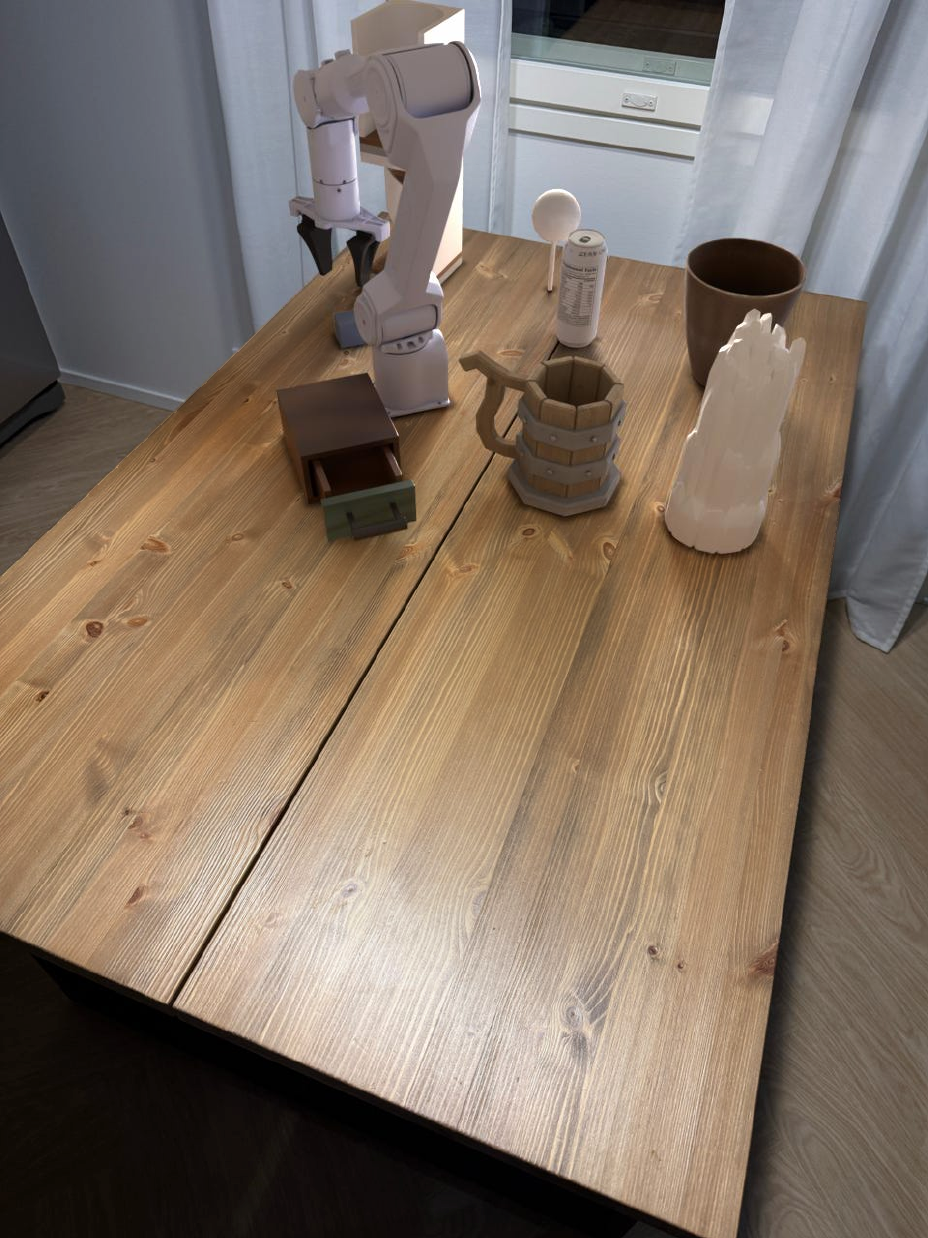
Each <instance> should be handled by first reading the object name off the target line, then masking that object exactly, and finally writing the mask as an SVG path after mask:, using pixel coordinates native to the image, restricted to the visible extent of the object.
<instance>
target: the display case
mask: <svg viewBox="0 0 928 1238" xmlns="http://www.w3.org/2000/svg"><path fill="white" fill-rule="evenodd" d="M350 33H351V34H350V35H351V48H352V54H358V55H361V56H363V57H365V56H366V55H369V54H371V53H374V52H376V51H381V50H387V49H393V48H398V47H404V46H411V45H421V44H431V43H444V45H446V44H448V43H449V42H451V41H461V42H462V43H464V44H465V8H461V7H460V8H459V7H456V6H455V7H454V6H448V5H443V4H436V3H429V2H424V1H417V0H387V1H384V2H383V3H380V4H379V5H377V6H375V7H373V8H371V9H370V10H368V11H366V12H364V13H362V14H360V15H359V16H357V17H355V18H353V19H351V20H350ZM358 131H359V132H358V140H359V141H358V143H359V156H360V163H365V164H369V165H375V166H379V167H383V171H384V172H383V173H384V190H385V191H384V194H385V207H386V212H387V214H388V217H389V218H390V220H391V221H392V223H393V224H394V222H395V218H396V213H397V209H398V204H399V200H400V195H401V191H402V187H403V182H404V178H405V173H406V171H405V170H403V169H401V168H399V167H397V166H395V165H393V164H391V163H389V161H388V158H387V155H386V152H385V150H384V148H383V146H382V143H381V140H380V137H379V135H378V132H377V129H376V126H375V123H374V120H373V117H372V115H371V113H370V111H368V112H366V113H364V114H360V115H359V118H358ZM463 178H464V158H463V159H462V166H461V174H460V179H459V183H458V187H457V190H456V193H455V197H454V200H453V203H452V207H451V210H450V213H449V217H448V220H447V223H446V227H445V230H444V233H443V237H442V240H441V243H440V247H439V250H438V253H437V257H436V260H435V263H434V267H433V270H432V272H433V274H434V275H435V277H436V278H437V280H438V282H439V284H440V285H442V284H443V283H444V281H446V279H448V278H449V277H450V276H451V275H452V274H453V273H454V272H455V271H456V269H458V268H459V267H460V266H461V265H462V264H463V212H464V211H463V209H464V207H463V204H464V203H463V200H464V197H463V195H464V191H463V189H464V179H463ZM387 254H388V250H386V251H385V252H384V253H383V254H382V255H381V256H379V257H378V258H377V259H375V260H374V261H373V265H372V270H371V276H370V280H371V279H373V278H374V277H375V276H377V275H378V274H379V273H380V272H382V271H383V270H384V267H385V263H386V258H387Z"/></svg>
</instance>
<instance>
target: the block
mask: <svg viewBox="0 0 928 1238" xmlns="http://www.w3.org/2000/svg"><path fill="white" fill-rule="evenodd" d="M332 316H333V325H334V331H335V332H334V333H335V337H336V339H337V342H338V343H339V346H340V348H341V349H346V348H351V347H357V346H362V345H366V344H367V343H366V342H365V341H364V340H363V339H362V337H361V335H360V333H359V331H358V328H357V325H356V322H355V317H354V309H350V310H343V311H338V312H333V313H332Z"/></svg>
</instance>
